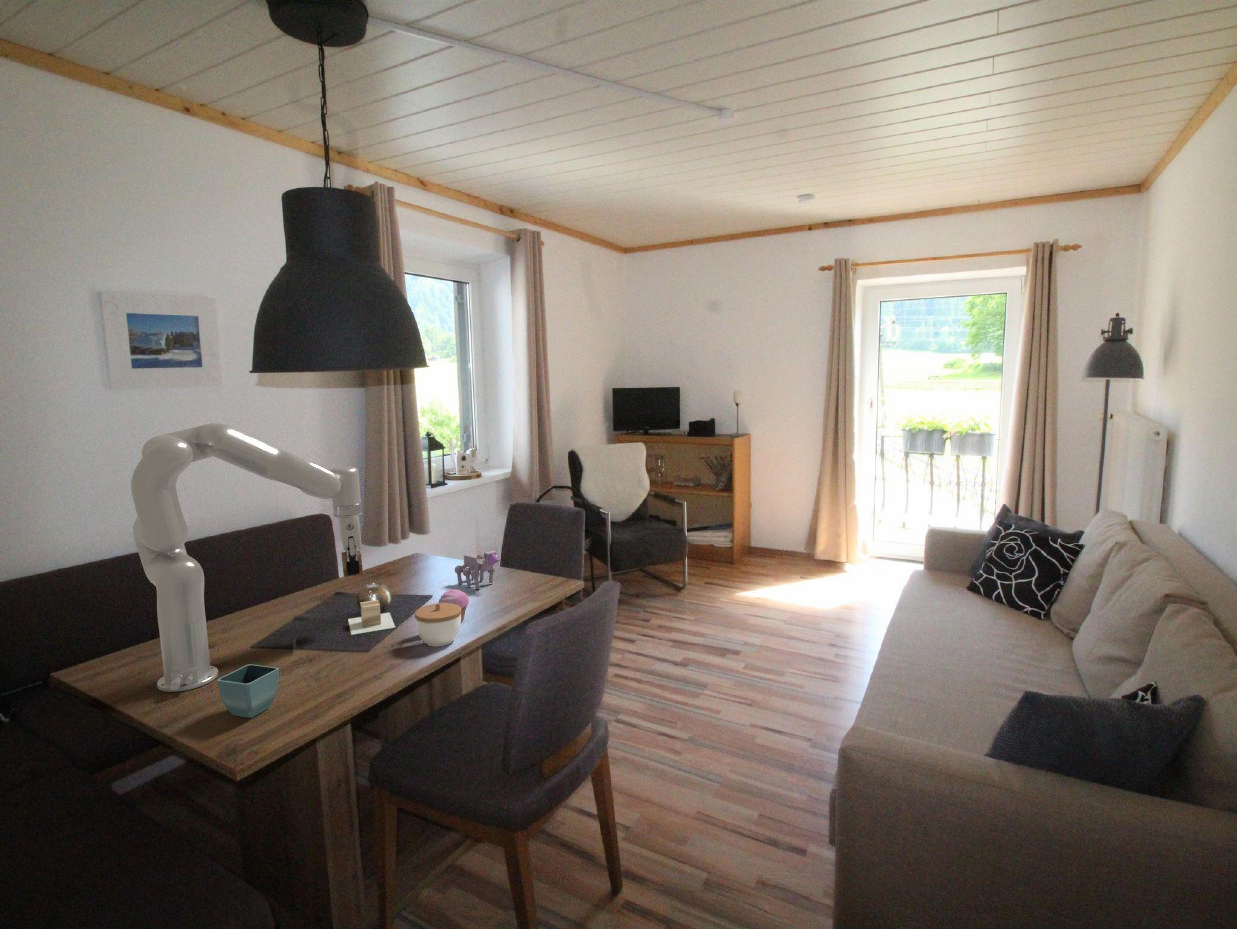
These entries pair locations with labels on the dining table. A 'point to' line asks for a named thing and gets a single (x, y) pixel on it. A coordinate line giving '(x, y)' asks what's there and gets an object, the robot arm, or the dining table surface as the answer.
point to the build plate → (358, 628)
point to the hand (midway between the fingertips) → (352, 571)
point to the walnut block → (344, 564)
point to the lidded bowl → (438, 623)
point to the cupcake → (456, 600)
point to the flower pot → (249, 689)
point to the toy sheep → (477, 567)
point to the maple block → (370, 613)
